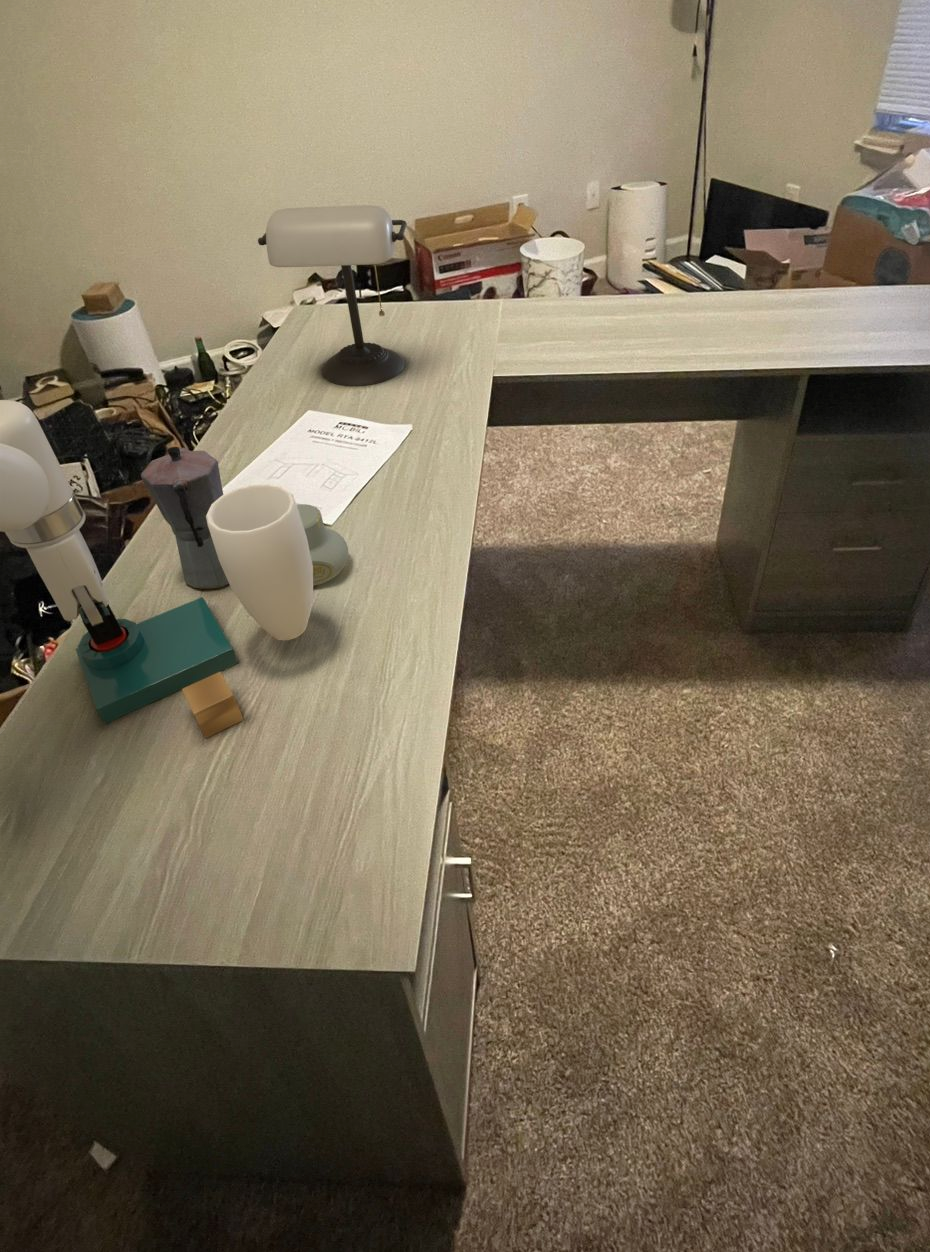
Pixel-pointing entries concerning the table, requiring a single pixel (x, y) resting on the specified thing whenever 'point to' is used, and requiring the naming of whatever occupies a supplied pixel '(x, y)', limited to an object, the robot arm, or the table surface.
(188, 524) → the moka pot
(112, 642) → the red button
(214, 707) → the block
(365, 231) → the lamp
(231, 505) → the cup
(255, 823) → the table surface
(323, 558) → the air freshener
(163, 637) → the button base
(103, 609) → the robot arm
